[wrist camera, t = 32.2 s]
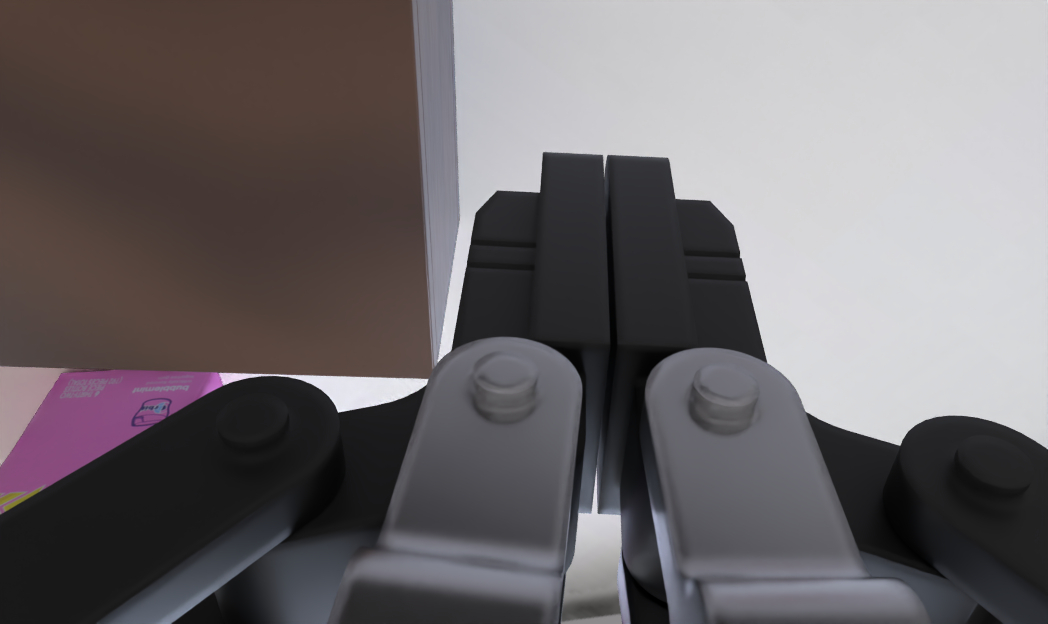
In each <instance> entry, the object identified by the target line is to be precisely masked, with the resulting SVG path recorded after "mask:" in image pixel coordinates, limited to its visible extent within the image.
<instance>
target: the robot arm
mask: <svg viewBox="0 0 1048 624" xmlns="http://www.w3.org/2000/svg"><path fill="white" fill-rule="evenodd" d="M745 278H746V274H745V270H744V266H743V262H742V258H740V250H739V246H738V242H737V238H736V234H735V230H734V226H733V225H732V223H731V222H730V221H729V220H728V219H727V218H726V217H725V216H724V215H723V214H722V213H721V212H720V211H719V210H718V209H717V208H716V207H715V206H714V205H713V204H712V203H711V201H702V200H681V199H675V194H674V187H673V181H672V175H671V168H670V162H669V159H668V158H660V157H639V156H618V155H608V156H607V160H606V167H605V176H604V166H603V155H593V154H572V153H552V152H543V160H542V174H541V188H540V193H534V192H514V191H497V192H496V193H495V194H494V195H493V196H492V197H491V198H490V199H489V200H488V201H487V202H486V203H485V204H484V205H483V206H482V207H481V208H480V209H479V210H478V211H477V212H476V215H475V220H474V226H473V232H472V237H471V245H470V249H469V254H468V260H467V267H466V271H465V277H464V283H463V288H462V294H461V300H460V305H459V311H458V316H457V322H456V328H455V333H454V339H453V345H452V350H451V352H449V353H448V354H446V355H445V356H444V357H443V358H442V359H441V360H440V361H439V362H438V363H437V365H436V366H435V367H434V369H433V370H432V373H431V375H430V377H429V380H428V383H427V385H426V386H425V387H423V388H422V389H420V390H419V391H417V392H415V393H413V394H411V395H409V396H407V397H404V398H401V399H399V400H396V401H393V402H389V403H385V404H381V405H377V406H371V407H366V408H361V409H355V410H350V411H345V412H339V413H338V412H337V409H336V407H335V405H334V403H333V402H332V400H331V399H330V398H329V397H328V396H327V395H326V394H325V393H324V392H323V391H322V390H320V389H319V388H317V387H315V386H314V385H312V384H309V383H307V382H304V381H302V380H298V379H293V378H289V377H279V376H261V377H254V378H247V379H243V380H239V381H235V382H232V383H229V384H227V385H224V386H221V387H219V388H217V389H215V390H213V391H211V392H209V393H207V394H206V395H204V396H202V397H201V398H199V399H197V400H195V401H194V402H192V403H190V404H189V405H187V406H185V407H183V408H182V409H180V410H178V411H177V412H175V413H173V414H171V415H170V416H168V417H166V418H165V419H163V420H161V421H159V422H158V423H156V424H154V425H153V426H151V427H149V428H147V429H146V430H144V431H142V432H141V433H139V434H137V435H135V436H134V437H132V438H130V439H129V440H127V441H125V442H123V443H122V444H120V445H118V446H117V447H115V448H113V449H112V450H110V451H108V452H106V453H105V454H103V455H101V456H100V457H98V458H96V459H94V460H93V461H91V462H89V463H88V464H86V465H84V466H82V467H81V468H79V469H77V470H76V471H74V472H72V473H70V474H69V475H67V476H65V477H64V478H62V479H60V480H58V481H57V482H55V483H53V484H52V485H50V486H48V487H46V488H45V489H43V490H41V491H40V492H38V493H36V494H34V495H33V496H31V497H29V498H28V499H26V500H24V501H23V502H21V503H19V504H17V505H16V506H14V507H12V508H11V509H9V510H7V511H5V512H4V513H2V514H0V624H561V617H562V608H563V598H564V589H565V579H566V572H567V570H568V568H569V566H570V565H571V562H572V559H573V556H574V551H575V542H576V532H577V522H578V513H590V514H591V511H592V503H593V494H594V485H595V476H596V467H597V504H598V514H614V515H621V534H622V547H621V553H620V560H619V567H618V573H617V586H618V594H619V602H620V610H621V618H622V624H1048V449H1046V448H1045V447H1043V446H1042V445H1040V444H1039V443H1037V442H1036V441H1034V440H1032V439H1030V438H1029V437H1027V436H1025V435H1024V434H1022V433H1020V432H1018V431H1015V430H1013V429H1011V428H1009V427H1007V426H1004V425H1001V424H998V423H995V422H992V421H988V420H984V419H980V418H975V417H967V416H942V417H936V418H932V419H928V420H925V421H923V422H921V423H919V424H917V425H916V426H914V427H913V428H912V429H911V430H910V431H908V433H907V434H906V436H905V437H904V439H903V441H902V443H901V446H898V445H895V444H892V443H888V442H885V441H881V440H878V439H874V438H871V437H868V436H864V435H861V434H857V433H854V432H850V431H847V430H844V429H841V428H838V427H835V426H832V425H830V424H828V423H826V422H824V421H821V420H819V419H817V418H816V417H814V416H812V415H810V414H809V413H807V412H805V409H804V407H803V404H802V402H801V399H800V397H799V395H798V393H797V391H796V389H795V388H794V386H793V385H792V384H791V383H790V381H789V380H788V379H787V378H786V377H785V376H784V375H783V374H782V373H781V372H779V371H778V370H776V369H775V368H774V367H772V366H771V365H769V364H767V360H766V356H765V352H764V348H763V344H762V339H761V335H760V331H759V327H758V323H757V319H756V315H755V311H754V307H753V303H752V299H751V295H750V291H749V287H748V283H747V282H746V281H745Z"/></svg>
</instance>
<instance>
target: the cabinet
mask: <svg viewBox="0 0 1048 624" xmlns="http://www.w3.org/2000/svg"><path fill="white" fill-rule="evenodd" d="M459 221H460V214H459V184H458V154H457V124H456V94H455V64H454V34H453V4H452V0H0V366H9V367H43V368H77V369H111V370H145V371H179V372H213V373H247V374H281V375H316V376H350V377H384V378H418V379H429V377H430V375H431V373H432V370H433V369H434V367H435V366H436V365H437V360H438V355H439V349H440V342H441V336H442V330H443V323H444V317H445V310H446V304H447V297H448V291H449V285H450V278H451V272H452V265H453V259H454V252H455V246H456V240H457V233H458V227H459Z"/></svg>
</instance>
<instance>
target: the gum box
mask: <svg viewBox="0 0 1048 624" xmlns="http://www.w3.org/2000/svg"><path fill="white" fill-rule="evenodd" d="M221 386H223V384H222V382H221V379H220V377H219V374H218V373H213V372H179V371H145V370H109V371H93V372H73V373H61V374H60V376H59V378H58V380H57V381H56V382H55V384H54V386H53V388H52V389H51V390H50V391H49V393H48V394H47V396H46V397H45V399H44V401H43V402H42V404H41V405H40V407H39V409H38V410H37V412H36V413H35V415H34V416H33V418H32V419H31V421H30V422H29V424H28V426H27V427H26V429H25V431H24V433H23V434H22V436H21V437H20V439H19V440H18V442H17V443H16V445H15V447H14V448H13V450H12V451H11V452H10V454H9V455H8V457H7V458H6V460H5V461H4V462H3V464H2V465H1V467H0V514H2V513H4V512H5V511H7V510H9V509H11V508H12V507H14V506H16V505H17V504H19V503H21V502H23V501H24V500H26V499H28V498H29V497H31V496H33V495H34V494H36V493H38V492H40V491H41V490H43V489H45V488H46V487H48V486H50V485H52V484H53V483H55V482H57V481H58V480H60V479H62V478H64V477H65V476H67V475H69V474H70V473H72V472H74V471H76V470H77V469H79V468H81V467H82V466H84V465H86V464H88V463H89V462H91V461H93V460H94V459H96V458H98V457H100V456H101V455H103V454H105V453H106V452H108V451H110V450H112V449H113V448H115V447H117V446H118V445H120V444H122V443H123V442H125V441H127V440H129V439H130V438H132V437H134V436H135V435H137V434H139V433H141V432H142V431H144V430H146V429H147V428H149V427H151V426H153V425H154V424H156V423H158V422H159V421H161V420H163V419H165V418H166V417H168V416H170V415H171V414H173V413H175V412H177V411H178V410H180V409H182V408H183V407H185V406H187V405H189V404H190V403H192V402H194V401H195V400H197V399H199V398H201V397H202V396H204V395H206V394H207V393H209V392H211V391H213V390H215V389H217V388H219V387H221Z"/></svg>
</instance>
